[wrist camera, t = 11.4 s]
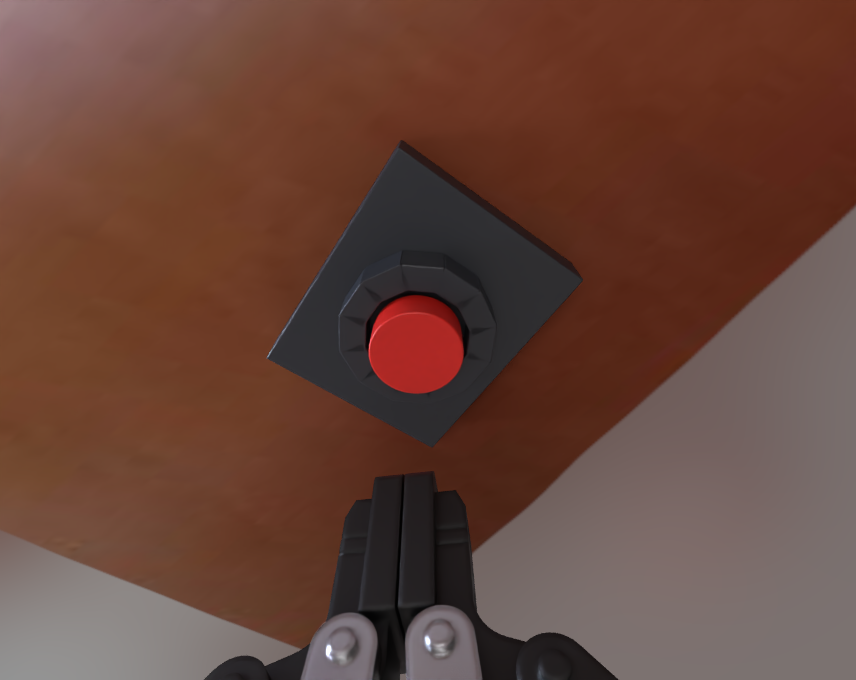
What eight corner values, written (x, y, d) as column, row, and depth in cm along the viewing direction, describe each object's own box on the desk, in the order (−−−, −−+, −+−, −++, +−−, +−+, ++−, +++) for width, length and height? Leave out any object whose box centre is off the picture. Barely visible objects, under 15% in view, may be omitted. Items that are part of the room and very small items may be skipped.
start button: (428, 386, 24) (428, 409, 22) (355, 344, 23) (350, 365, 21) (479, 325, 22) (483, 344, 21) (404, 277, 21) (402, 294, 20)
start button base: (432, 423, 30) (432, 471, 26) (277, 337, 27) (254, 378, 23) (572, 263, 25) (595, 296, 21) (401, 139, 22) (395, 154, 19)
